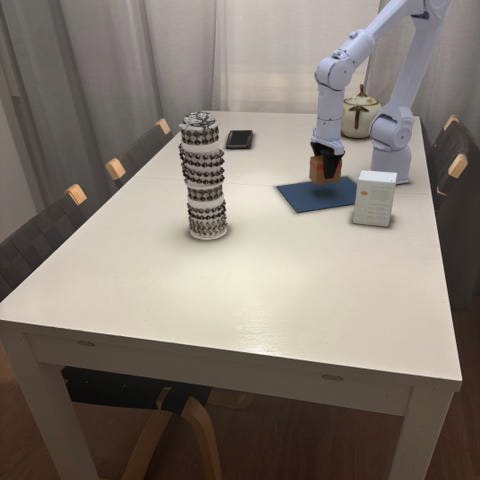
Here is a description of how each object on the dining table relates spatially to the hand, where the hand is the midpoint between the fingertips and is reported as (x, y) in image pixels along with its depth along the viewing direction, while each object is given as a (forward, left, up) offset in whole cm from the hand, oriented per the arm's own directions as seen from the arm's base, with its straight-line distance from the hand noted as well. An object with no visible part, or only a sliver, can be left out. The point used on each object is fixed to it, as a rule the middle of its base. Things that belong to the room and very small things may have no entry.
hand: (325, 174), depth 117 cm
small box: (-5, +17, -5) cm, 18 cm away
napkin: (0, 0, -5) cm, 5 cm away
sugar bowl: (-28, -40, -5) cm, 49 cm away
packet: (0, 0, -1) cm, 1 cm away
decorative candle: (+32, +10, -5) cm, 34 cm away
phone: (+10, -47, -5) cm, 48 cm away
